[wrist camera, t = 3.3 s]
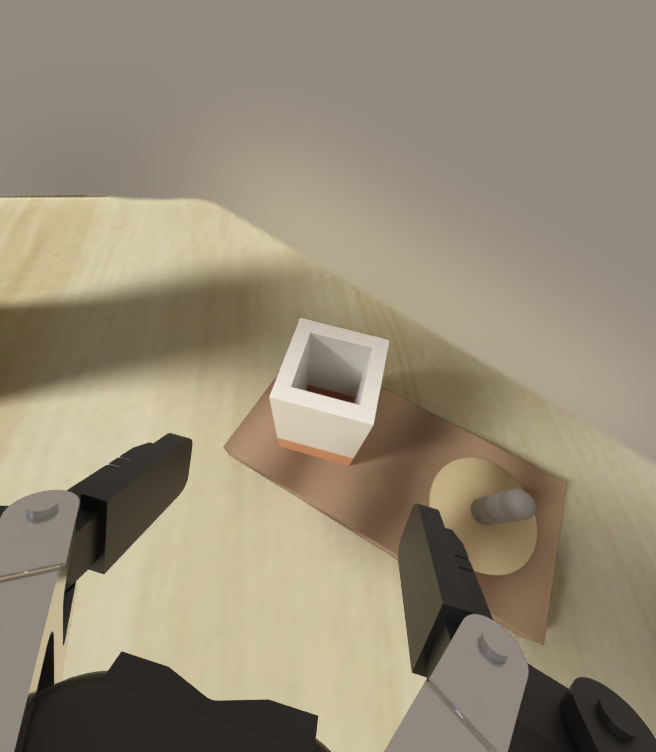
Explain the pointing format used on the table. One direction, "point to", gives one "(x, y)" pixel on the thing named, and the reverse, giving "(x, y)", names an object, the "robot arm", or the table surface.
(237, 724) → the robot arm
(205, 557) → the table surface
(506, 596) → the pin board
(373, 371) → the sleeve
